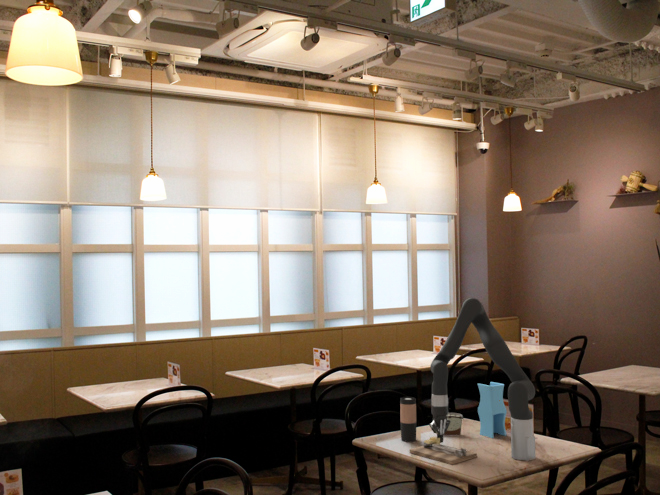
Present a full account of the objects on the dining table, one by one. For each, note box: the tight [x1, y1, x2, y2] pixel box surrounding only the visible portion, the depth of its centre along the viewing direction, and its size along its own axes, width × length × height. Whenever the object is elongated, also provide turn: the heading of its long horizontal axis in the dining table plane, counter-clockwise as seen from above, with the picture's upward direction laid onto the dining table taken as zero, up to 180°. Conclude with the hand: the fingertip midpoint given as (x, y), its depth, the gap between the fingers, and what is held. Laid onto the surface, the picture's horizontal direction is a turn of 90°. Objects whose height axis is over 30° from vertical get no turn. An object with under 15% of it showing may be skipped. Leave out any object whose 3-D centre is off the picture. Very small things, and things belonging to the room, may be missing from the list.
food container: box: [443, 412, 464, 437], centre depth 327 cm, size 12×6×10 cm, turn 84°
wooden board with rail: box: [409, 444, 478, 465], centre depth 289 cm, size 24×17×4 cm
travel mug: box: [399, 396, 417, 443], centre depth 316 cm, size 8×8×20 cm
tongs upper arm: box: [423, 442, 463, 453], centre depth 289 cm, size 20×2×1 cm, turn 40°
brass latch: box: [423, 436, 441, 444], centre depth 295 cm, size 4×7×4 cm, turn 130°
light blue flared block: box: [477, 381, 508, 439], centre depth 325 cm, size 10×10×25 cm
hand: (440, 442), depth 299 cm, fingers closed
